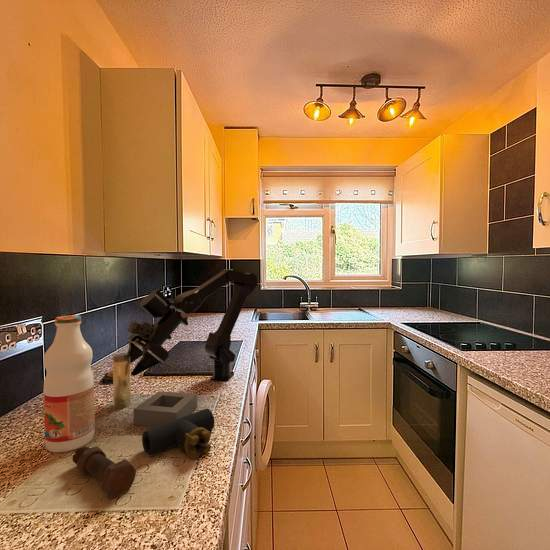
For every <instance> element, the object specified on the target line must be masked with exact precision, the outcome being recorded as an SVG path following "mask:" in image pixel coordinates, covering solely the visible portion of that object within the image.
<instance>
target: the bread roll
mask: <svg viewBox="0 0 550 550" xmlns="http://www.w3.org/2000/svg"><path fill="white" fill-rule="evenodd" d="M100 382H101V383H102V385H104V386H108V385H109V386H111V385H113V369H112V370H110V371H108V372H105V374H103V377H102V378H101V379H100Z"/></svg>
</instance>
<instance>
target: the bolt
mask: <svg viewBox="0 0 550 550" xmlns="http://www.w3.org/2000/svg"><path fill="white" fill-rule="evenodd" d="M73 453H74V454H73V455H72V462H73V463H74V464H76V466H75V468H77V470H78V471H79V473H81V475H83V476H85V477H90V476H94V477H95V478H96V479H97V480H99V481H101V484H100V486H99V487H100V489H102V490H103V492H105V494H106V495H107V496H109V498H111V499H115V498H116V499H117V498H118V497H120V496H122V495H124V494H125V493H127V491H129V490H130V489H131V487H132V485H133V484H134V481H135V478H136V475H137V474H136V473H137V470H136V468H135V466H134V465H133V464H132V463H131V462H130V461H129V460H127V459H126V458H123V459H122V460H120V461H118V462H117V463H116V462H114V461H113V460H112V459H109V458H108V457H107V454H106V453H105V452H104V451H103V450H102V449H101V448H100V447H99V446H98V445H97V446H93V447H89V446H82V447H80V448H77V449H75V450H74V452H73Z"/></svg>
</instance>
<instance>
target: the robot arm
mask: <svg viewBox="0 0 550 550" xmlns="http://www.w3.org/2000/svg"><path fill="white" fill-rule="evenodd" d="M229 283H232V284H233V294H232V296H231V299H230V301H229V303H228V306H227V308H226V309H225V313H224V315H223V317H222V319H221V321H220V324H219V326H218V327H217V330H216V331H215V332H209V333H208V336H207V339H206V340H205V341H204V344H205V347H204V350H205V352H206V354H207V355H208V357H209V359H210V360H213V375H212V376H211V377H210V378H209V380H211V381H224V382H229V380H231V378H232V377H234V373H233V372H231V363H233V362H235V360H236V354H235V353H233V351H232V350H230V349H231V346H232V345H231V344H232V340H231V339H232V338H231V336H232V335H231V334H232V332H233V331H234V328H235V327H236V323H237V321H238V318H239V316H240V314H241V312H242V309H243V307H244V305H245V302H246V300H247V298H248V297H249V296H250V295H251V294H253V292H254V291H255V289H256V288H257V287H258V283H259V280H258V276H257V275H256V274H255V273H253V272H251V273H250V272H241V271H236V270H233V269H231V268H225V269H222V270H221V271H220V272H219V273H217V274H215V275H214V276H213V277H211V278H210V279H208V280H207V281H205V282H203V283H202V284H200V285H199V286H197V287H196V288H193V289H191V290H188V291H184V292H182V293H180V294H178V295H176V296H175V297H174V298H172V299H168V298H167V297H166V296H165V295H164V294H163V292H161V291H160V290H159V289H155V290H153V291H152V292H151V293H149V294H148V295H147V296H145V297H143V298H142V300H141V301H140V303H139V306H140V308H142V309H143V310H144V311H146V312H147V314H149V315H150V316H151V318H153V319H156V318H159V319H158V320H157V321H156V323H148V322H146V321H142V322H141V323H139V322H136V321H133V320H131V321H130V323H129V325H128V327H127V329H126V332H129V333H130V334H131V335H129V337H128V338H127V339H128V341H127V343H128V350H127V354H130V365H131V364H132V363H134V362H135V361H136V360H138V359H139V358H140V359H139V361H138V362H137V363H136V365H135V366H134V368H133V369H132V371H131V377H135V376H138V375H139V374H141V373H143V372H145V371H147V370H148V369H151V368H152V367H154V366H157V365H158V364H162V362H163V363H166V361H168V359H169V358H170V352H169V351H168V350H167V349H165V348H164V347H163V345H164V343H166V342H167V340H169V341H170V340H171V339H172V338H173V337H172V336H171V335H173V333H174V332H175V331H176V329H177V328H178V327H179V326H180V325H182V326H188V325H189V321H188V316H186V315H182V314H181V313H183V314H188V315H189V314H194V312H196V311H197V309H199V308H200V307H201V306H202V304H203V302H204V301H205V300H206V299H207V298H208V297H210V296H211V295H213V294H214V293H216V292H218V290H219V289H221V288H223V287H224V286H225V285H227V284H229ZM173 309H175V310H173Z"/></svg>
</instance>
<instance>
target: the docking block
mask: <svg viewBox="0 0 550 550" xmlns="http://www.w3.org/2000/svg"><path fill="white" fill-rule="evenodd" d="M196 410H198V394H197V393H187V392H176V391H162V390H161V391H160V390H158V391H157V392H155V393H154V394H153V395H151V396H150V397H148V398H147V399H146V400H144V401H143V402H141V403H140V404H139V405H137V406H136V407H134V408H133V426H139V427H141V426H142V427H150V428H151V427H152V428H155V427H157V426H160V425H163V424H165V423H168V422H171V421H173V420H176V419H179V418H182V417H184V416H187V415H190V414H192V413H195V411H196Z"/></svg>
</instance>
